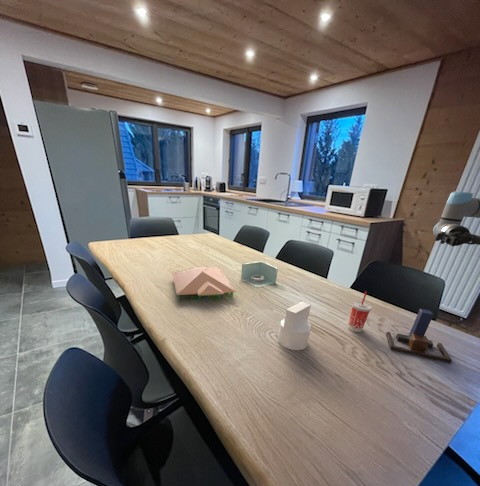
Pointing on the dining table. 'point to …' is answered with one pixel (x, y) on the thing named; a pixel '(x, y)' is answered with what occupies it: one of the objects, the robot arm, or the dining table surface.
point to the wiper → (418, 326)
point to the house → (202, 282)
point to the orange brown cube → (418, 342)
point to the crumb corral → (444, 357)
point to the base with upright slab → (295, 327)
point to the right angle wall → (259, 273)
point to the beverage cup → (359, 315)
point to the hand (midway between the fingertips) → (478, 245)
